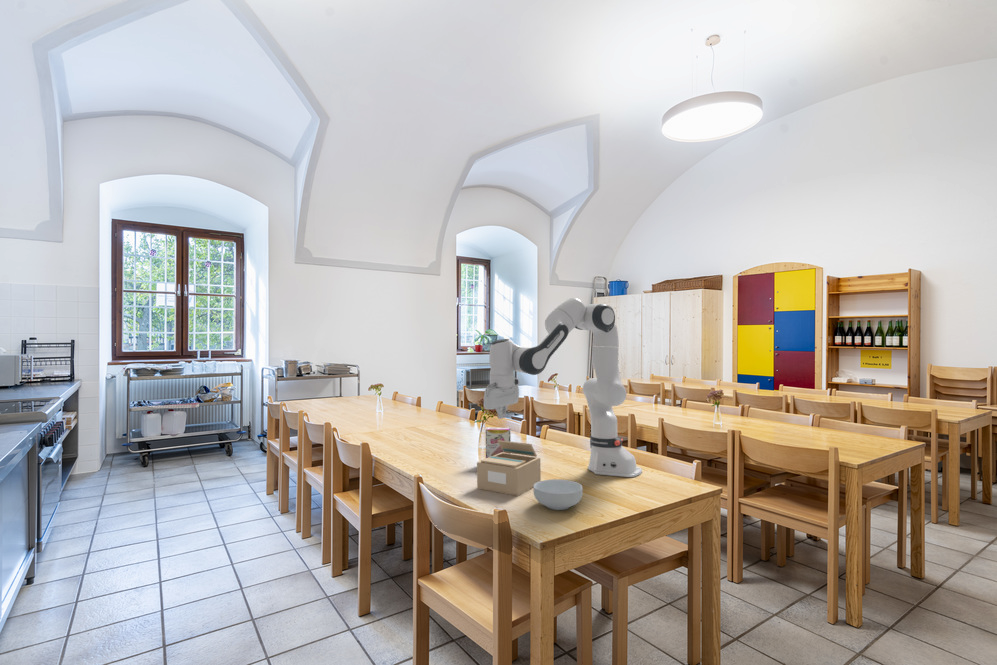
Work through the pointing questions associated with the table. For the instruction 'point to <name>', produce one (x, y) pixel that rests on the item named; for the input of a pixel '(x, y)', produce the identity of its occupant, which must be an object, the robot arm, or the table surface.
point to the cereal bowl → (558, 493)
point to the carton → (509, 475)
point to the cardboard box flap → (517, 448)
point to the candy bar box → (496, 440)
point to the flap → (503, 461)
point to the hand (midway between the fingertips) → (501, 418)
